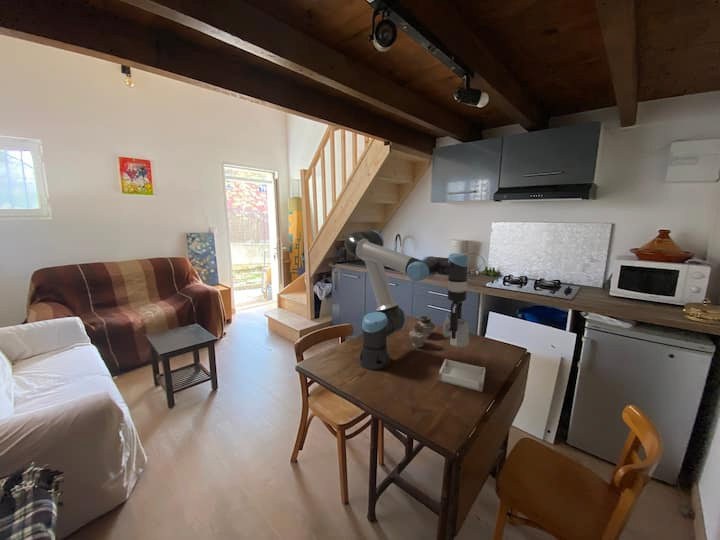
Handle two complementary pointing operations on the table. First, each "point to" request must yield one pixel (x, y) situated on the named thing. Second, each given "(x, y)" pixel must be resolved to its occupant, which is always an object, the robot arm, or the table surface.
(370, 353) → the robot arm
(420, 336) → the pottery
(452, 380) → the crate
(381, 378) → the table surface
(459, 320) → the mug
